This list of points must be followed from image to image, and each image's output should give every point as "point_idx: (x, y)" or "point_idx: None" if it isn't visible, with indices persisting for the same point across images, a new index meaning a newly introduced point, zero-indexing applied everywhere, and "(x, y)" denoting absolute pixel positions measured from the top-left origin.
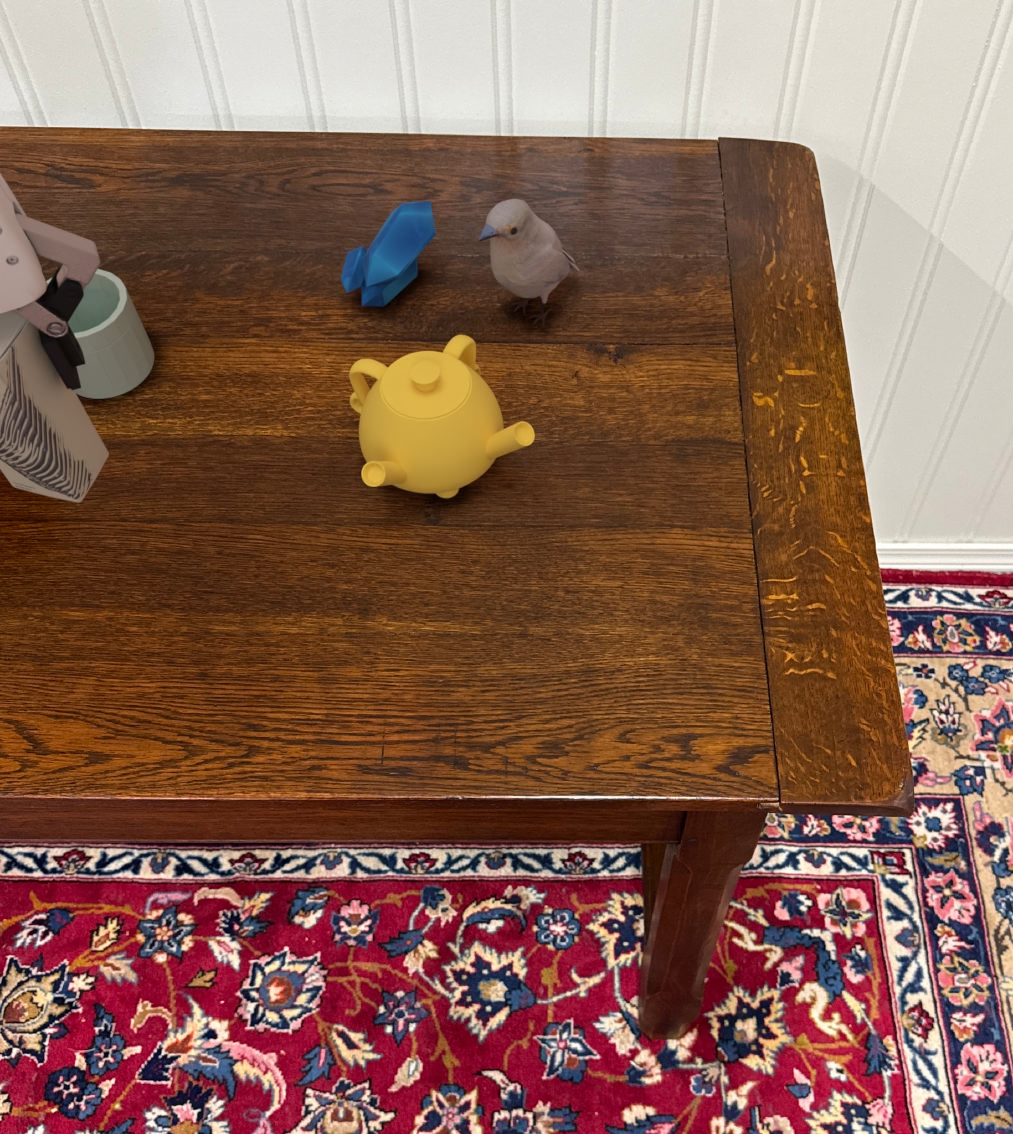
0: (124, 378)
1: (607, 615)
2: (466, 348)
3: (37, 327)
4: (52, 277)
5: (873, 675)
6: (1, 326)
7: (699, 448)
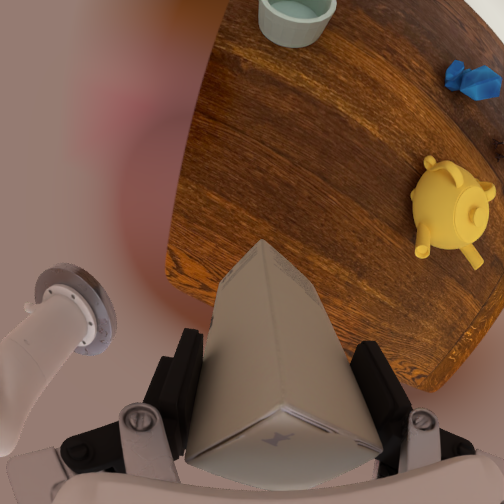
0: (300, 43)
1: (432, 319)
2: (489, 188)
3: (373, 474)
4: (448, 458)
5: (460, 363)
6: (334, 468)
7: (497, 263)
